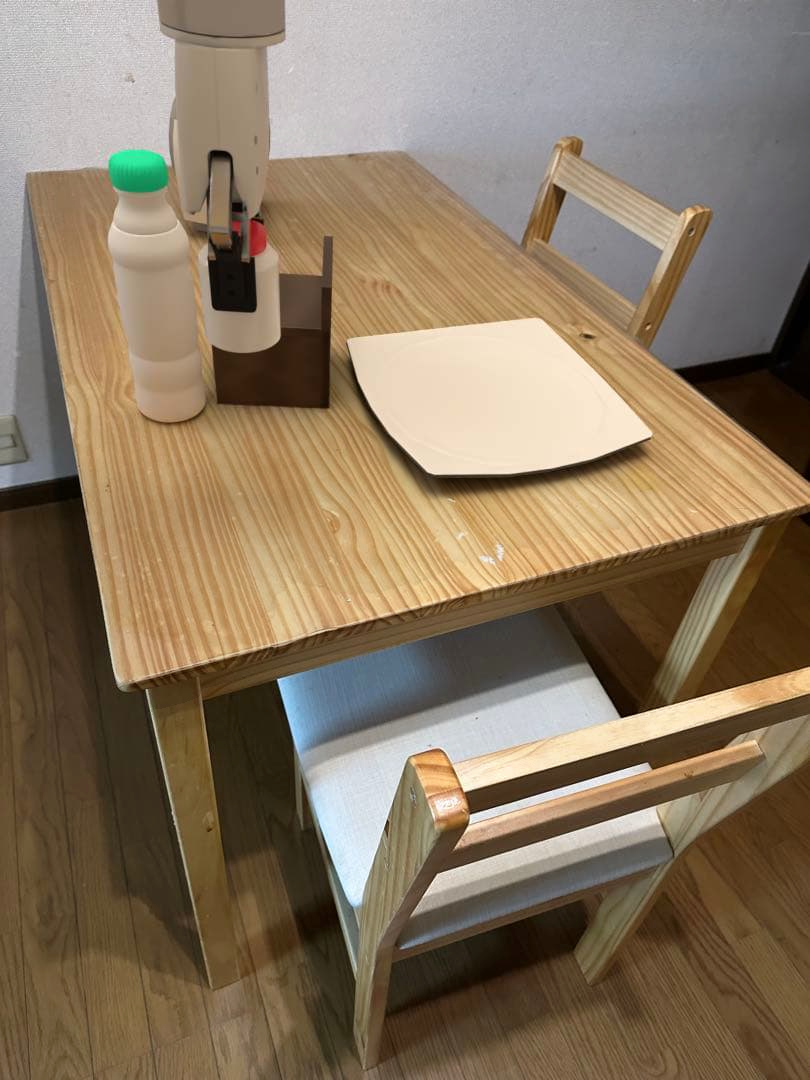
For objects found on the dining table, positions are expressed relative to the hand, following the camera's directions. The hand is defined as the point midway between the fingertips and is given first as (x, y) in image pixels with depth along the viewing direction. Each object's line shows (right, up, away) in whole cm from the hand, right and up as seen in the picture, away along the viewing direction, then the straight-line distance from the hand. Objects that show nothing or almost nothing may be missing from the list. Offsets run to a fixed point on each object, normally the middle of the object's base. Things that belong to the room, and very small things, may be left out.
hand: (240, 286), depth 58 cm
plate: (+22, -4, +29) cm, 36 cm away
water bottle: (-12, -5, +23) cm, 27 cm away
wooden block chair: (-2, -1, +29) cm, 29 cm away
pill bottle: (0, -3, +3) cm, 4 cm away
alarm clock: (-14, +29, +59) cm, 67 cm away
